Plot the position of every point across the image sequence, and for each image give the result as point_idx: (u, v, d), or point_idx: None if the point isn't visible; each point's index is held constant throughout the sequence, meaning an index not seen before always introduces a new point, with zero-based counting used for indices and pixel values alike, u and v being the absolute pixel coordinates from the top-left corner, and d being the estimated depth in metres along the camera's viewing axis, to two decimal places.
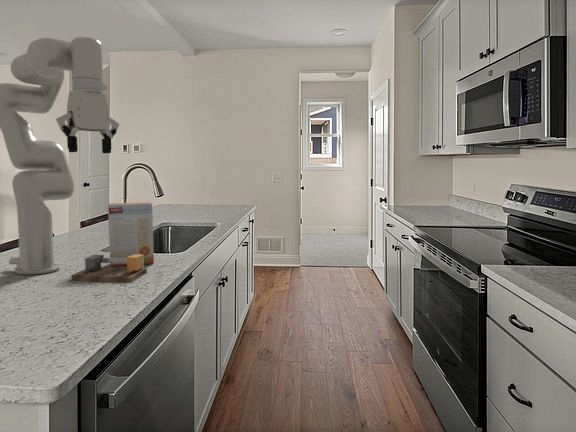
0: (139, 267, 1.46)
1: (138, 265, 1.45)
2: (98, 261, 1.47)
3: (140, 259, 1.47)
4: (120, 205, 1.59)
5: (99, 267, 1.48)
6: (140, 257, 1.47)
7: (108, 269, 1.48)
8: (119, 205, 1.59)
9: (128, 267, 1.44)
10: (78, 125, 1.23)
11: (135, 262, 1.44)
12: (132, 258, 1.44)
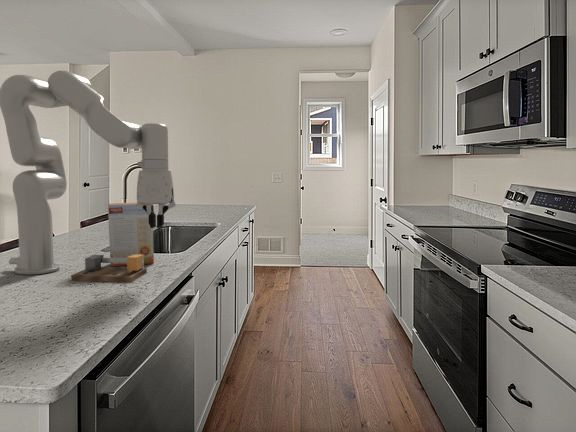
0: (139, 267, 1.46)
1: (138, 265, 1.45)
2: (98, 261, 1.47)
3: (140, 259, 1.47)
4: (120, 205, 1.59)
5: (99, 267, 1.48)
6: (140, 257, 1.47)
7: (108, 269, 1.48)
8: (119, 205, 1.59)
9: (128, 267, 1.44)
10: None
11: (135, 262, 1.44)
12: (132, 258, 1.44)
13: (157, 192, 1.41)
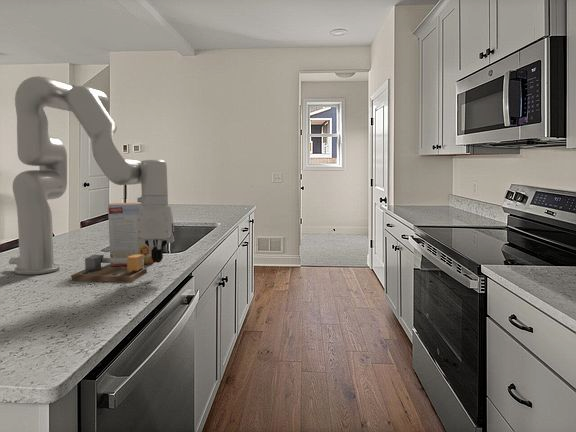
0: (139, 267, 1.46)
1: (138, 265, 1.45)
2: (98, 261, 1.47)
3: (140, 259, 1.47)
4: (120, 205, 1.59)
5: (99, 267, 1.48)
6: (140, 257, 1.47)
7: (108, 269, 1.48)
8: (119, 205, 1.59)
9: (128, 267, 1.44)
10: None
11: (135, 262, 1.44)
12: (132, 258, 1.44)
13: (157, 228, 1.42)
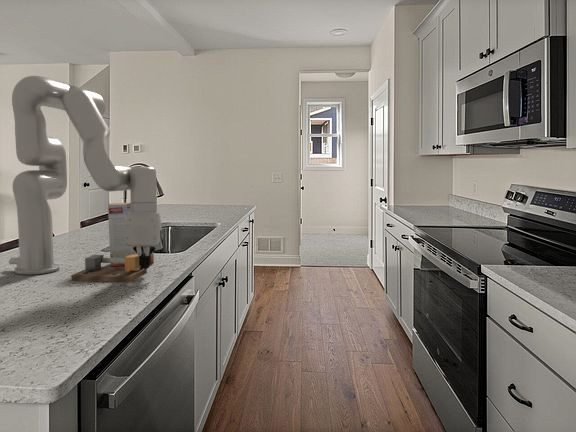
0: (137, 267, 1.46)
1: (136, 265, 1.45)
2: (98, 261, 1.47)
3: (138, 259, 1.47)
4: (120, 205, 1.59)
5: (99, 267, 1.48)
6: (138, 257, 1.47)
7: (108, 269, 1.48)
8: (119, 205, 1.59)
9: (126, 267, 1.44)
10: None
11: (133, 262, 1.44)
12: (130, 258, 1.44)
13: (145, 234, 1.42)
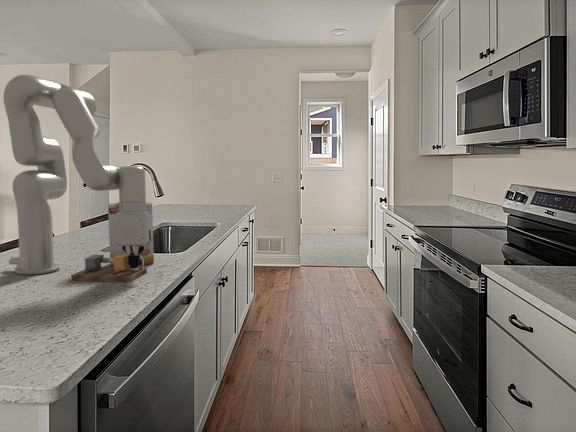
0: (126, 267, 1.46)
1: (125, 265, 1.46)
2: (98, 261, 1.47)
3: (127, 259, 1.47)
4: None
5: (99, 267, 1.48)
6: (127, 257, 1.47)
7: (108, 269, 1.48)
8: None
9: (115, 267, 1.45)
10: None
11: (122, 262, 1.44)
12: (119, 258, 1.44)
13: (134, 234, 1.42)
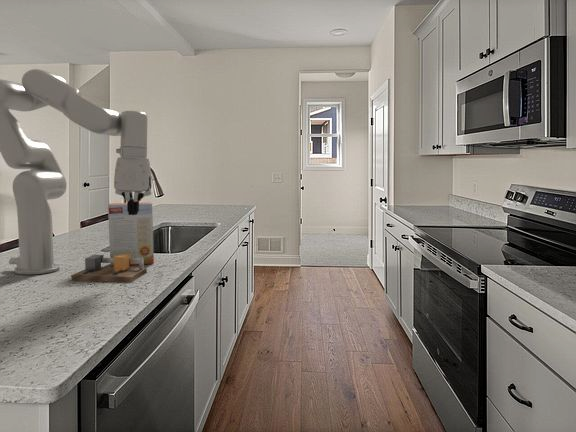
0: (126, 267, 1.46)
1: (125, 265, 1.46)
2: (98, 261, 1.47)
3: (127, 259, 1.47)
4: (120, 205, 1.59)
5: (99, 267, 1.48)
6: (127, 257, 1.47)
7: (108, 269, 1.48)
8: (119, 205, 1.59)
9: (115, 267, 1.45)
10: None
11: (122, 262, 1.44)
12: (119, 258, 1.44)
13: (134, 179, 1.41)
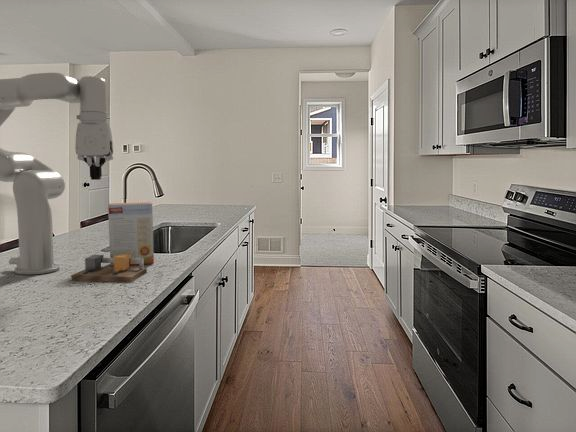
0: (126, 267, 1.46)
1: (125, 265, 1.46)
2: (98, 261, 1.47)
3: (127, 259, 1.47)
4: (120, 205, 1.59)
5: (99, 267, 1.48)
6: (127, 257, 1.47)
7: (108, 269, 1.48)
8: (119, 205, 1.59)
9: (115, 267, 1.45)
10: None
11: (122, 262, 1.44)
12: (119, 258, 1.44)
13: (95, 144, 1.44)
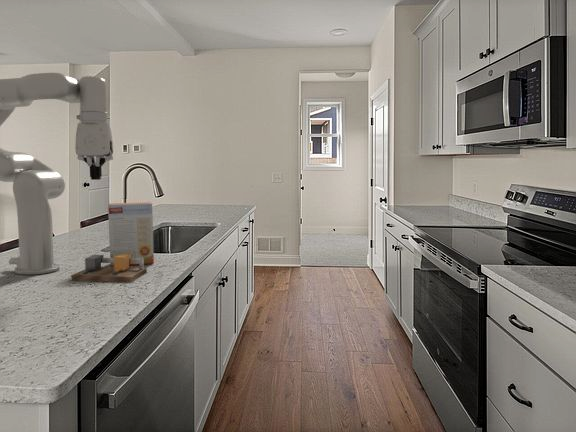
0: (126, 267, 1.46)
1: (125, 265, 1.46)
2: (98, 261, 1.47)
3: (127, 259, 1.47)
4: (120, 205, 1.59)
5: (99, 267, 1.48)
6: (127, 257, 1.47)
7: (108, 269, 1.48)
8: (119, 205, 1.59)
9: (115, 267, 1.45)
10: None
11: (122, 262, 1.44)
12: (119, 258, 1.44)
13: (95, 144, 1.44)
